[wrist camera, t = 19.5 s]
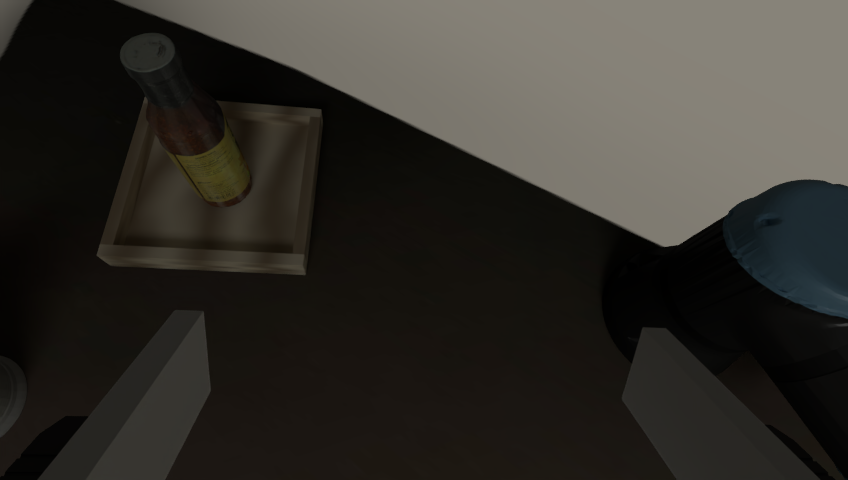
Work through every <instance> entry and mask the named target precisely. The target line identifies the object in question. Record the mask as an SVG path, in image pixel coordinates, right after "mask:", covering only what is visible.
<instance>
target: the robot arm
mask: <svg viewBox="0 0 848 480" xmlns="http://www.w3.org/2000/svg"><path fill="white" fill-rule="evenodd" d="M603 312H604V318H605V322H606V325H607V328H608V331H609V333H610V335H611V337H612V339H613V341H614V342H615V344H616V346H617V347H618V348H619V350H620V351H621V352H622V354H623V355H624V356H625V357H626V358H627V359H628V360H629V361H630V362H631V363H632V365H631V369H630V372H629V376H628V379H627V382H626V386H625V389H624V392H623V396H622V400H623V402H624V403H625V405H626V406H627V407H628V409H629V410H630V412H631V413H632V415H633V416H634V418H635V419H636V421H637V422H638V424H639V425H640V426H641V428H642V429H643V431H644V432H645V434H646V435H647V437H648V438H649V440H650V441H651V443H652V444H653V445H654V447H655V448H656V450H657V451H658V453H659V454H660V456H661V457H662V459H663V460H664V462H665V463H666V464H667V466H668V467H669V469H670V470H671V472H672V473H673V475H674V476H675V478H676V479H677V480H835V479H834V478H833V477H832V476H828V472H827V471H826V470H825V469H824V468H822V467H821V466H820V465H819V464H818V463H817V462H814V461H813V460H812V457H811V456H810V455H809V454H808V453H807V452H806V451H805V450H803V449H802V448H801V447H800V446H799V445H798V444H797V443H796V442H795V441H794V440H793V439H791V438H789V437H788V436H786V435H785V434H783V433H782V432H780V431H779V430H777V429H776V428H774V427H773V426H771V425H764V424H763V423H762V422H761V421H760V420H759V419H758V418H757V417H756V416H755V415H754V414H753V413H752V412H751V411H750V410H749V409H748V408H747V407H746V406H745V405H744V404H743V403H742V402H741V401H740V400H739V399H738V398H737V397H736V396H735V395H734V394H733V393H732V392H731V391H729V390H728V389H727V388H726V387H725V386H724V385H723V384H722V383H721V382H720V381H719V380H718V379H717V378H716V377H715V376H716V375H718V374H720V373H721V372H723V371H724V370H725V369H727V368H728V367H729V366H730V365H731V364H732V363H733V362H734V361H736V360H737V359H738V358H739V357H740V356H741V355H742V354H743V353H744V352H745V351H750V352H751V354H752V355H753V356H754V357H755V359H756V360H757V361H758V363H759V364H760V365H761V366H762V368H763V369H764V370H765V372H766V373H767V374H768V375H769V377H770V378H771V379H772V381H773V382H774V383H775V385H776V386H777V387H778V389H779V390H780V391H781V393H782V394H783V395H784V397H785V398H786V399H787V401H788V402H789V403H790V405H791V406H792V407H793V409H794V410H795V411H796V413H797V414H798V416H799V417H800V418H801V420H802V421H803V422H804V424H805V425H806V426H807V428H808V429H809V430H810V432H811V433H812V434H813V436H814V437H815V438H816V440H817V441H818V442H819V444H820V445H821V446H822V448H823V449H824V450H825V452H826V453H827V454H828V456H829V457H830V458H831V460H832V461H833V462H834V464H835V466H836V468H837V469H838V471H839V473H840V474H842V475H843V477H844V478H845V480H848V186H844V185H841V184H831V183H828V182H825V181H820V180H796V181H790V182H786V183H783V184H779V185H777V186H774V187H772V188H770V189H768V190H767V191H765V192H763V193H761V194H759V195H758V196H756V197H754V198H750V199H747V200H745V201H743V202H741V203H739V204H737V205H736V206H735V207H734V208H732V209H731V210H730V211H729V213H728V215H726V216H725V217H723V218H721V219H720V220H718V221H716V222H715V223H713V224H712V225H710V226H708V227H707V228H705V229H704V230H702V231H700V232H699V233H697V234H696V235H694V236H692V237H691V238H689V239H688V240H686V241H685V242H683V243H681V244H680V245H676V246H669V247H662V248H654V249H649V250H645V251H642V252H640V253H637V254H635V255H633V256H632V257H630V258H629V259H627V260H626V261H624V262H623V263H622V264H620V265H619V266H618V267H617V268H616V269H615V270H614V271H613V273H612V274H611V275H610V277H609V279H608V281H607V283H606V286H605V290H604V295H603ZM210 391H211V389H210V378H209V367H208V355H207V344H206V333H205V322H204V311H187V310H175V311H174V312H173V313H172V314H171V316H170V317H169V318H168V319H167V321H166V322H165V323H164V324H163V326H162V327H161V328H160V329H159V330H158V332H157V333H156V334H155V335H154V337H153V338H152V339H151V340H150V342H149V343H148V344H147V345H146V347H145V348H144V349H143V350H142V351H141V353H140V354H139V355H138V356H137V358H136V359H135V360H134V361H133V363H132V364H131V365H130V366H129V367H128V369H127V370H126V371H125V372H124V374H123V375H122V376H121V377H120V379H119V380H118V381H117V382H116V383H115V385H114V386H113V387H112V388H111V390H110V391H109V392H108V393H107V395H106V396H105V397H104V398H103V400H102V401H101V402H100V403H99V404H98V406H97V407H96V408H95V409H94V411H93V412H92V413H91V414H90V416H89V417H87V416H65V417H64V418H62V419H61V420H59V421H58V422H56V423H55V424H53V425H52V426H51V427H49V428H48V429H46V430H45V431H43V432H42V433H40V434H39V435H38V436H37V437H36V438H35V440H34V441H33V442H32V443H31V444H30V445H29V446H28V447H27V448H26V450H25V451H24V452H23V453H22V454H21V457H20V459H16V461H15V462H14V463H13V464H12V465H11V466H10V467H9V468H8V469H7V471H6V472H5V475H4V476H1V477H0V480H165V479H166V477H167V475H168V473H169V471H170V469H171V467H172V465H173V463H174V461H175V459H176V457H177V455H178V453H179V451H180V449H181V448H182V446H183V444H184V442H185V440H186V438H187V436H188V434H189V432H190V430H191V428H192V426H193V424H194V422H195V420H196V418H197V416H198V414H199V412H200V410H201V409H202V407H203V405H204V403H205V401H206V399H207V397H208V395H209V393H210Z"/></svg>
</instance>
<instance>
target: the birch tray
mask: <svg viewBox="0 0 848 480" xmlns="http://www.w3.org/2000/svg"><path fill="white" fill-rule="evenodd" d="M217 103H218V104H219V105H220V107H221V109H222V111H223V113H224V115H225V117H226V119H227V122H228V124H229V126H230V128H231V130H232V132H233V135H234V137H235V139H236V141H237V143H238V145H239V148H240V150H241V152H242V154H243V156H244V158H245V160H246V163H247V165H248V167H249V169H250V174H251V178H252V179H251V181H252V186H251V190H250V192H249V194H248V195H247V196H246V198H244V199H243V200H242V201H241V202H240V203H237V204H236V205H233V206H230V207H215V206H211V205H209V204H208V203H206V202H205V201H204V200H202V198H200V197H199V196H198V195H197V194H196V193H195V191H194V190H193V189H192V187H191V186H190V184H189V183H188V182H187V180H186V179H185V177H184V176H183V175H182V173H181V172H180V170H179V169H178V168H177V166H176V165H175V163H174V162H173V161H172V159H171V158H170V157H169V155H168V154H167V152H166V151H165V150H164V148H163V147H162V145H161V144H160V142H159V139H158V138H157V136H156V135H155V133H154V132H153V130H152V129H151V128H150V126H149V123H148V121H147V120H146V109H147V105H148V100H147V98H146V97H145V99H144V102H143V105H142V109H141V112H140V115H139V119H138V122H137V125H136V128H135V132H134V135H133V138H132V141H131V145H130V148H129V151H128V155H127V158H126V161H125V164H124V168H123V171H122V174H121V177H120V181H119V184H118V187H117V190H116V194H115V197H114V200H113V204H112V207H111V210H110V213H109V217H108V220H107V223H106V226H105V230H104V233H103V236H102V239H101V243H100V246H99V249H98V253H97V256H98V257H99V258H101V259H102V260H104V261H105V262H106V263H108V264H109V265H111V266H123V267H145V268H167V269H189V270H210V271H232V272H254V273H276V274H298V275H306V271H307V263H308V254H309V245H310V236H311V227H312V219H313V210H314V201H315V192H316V183H317V175H318V166H319V157H320V148H321V139H322V131H323V119H322V111H321V109H313V108H301V107H288V106H276V105H264V104H252V103H239V102H227V101H217Z"/></svg>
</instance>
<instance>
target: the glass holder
mask: <svg viewBox="0 0 848 480" xmlns="http://www.w3.org/2000/svg"><path fill="white" fill-rule="evenodd" d="M26 396H27V381H26V377H25V375H24V373H23V371H22V369H21V368H20V367H19V366H18V364H17V363H15V362H14V361H12V360H11V359H9V358H6V357H4V356H0V437H2V436H3V435H4V434H5V433H6V432H7V431H8V430H9V429H10V428H11V427H12V426H13V424H14V423H15V421H16V420H17V419H18V417H19V415H20V413H21V411H22V410H23V407H24V404H25V401H26Z"/></svg>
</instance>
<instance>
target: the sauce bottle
mask: <svg viewBox="0 0 848 480" xmlns="http://www.w3.org/2000/svg"><path fill="white" fill-rule="evenodd" d="M120 60H121V62H122V64H123V66H124V68H125V69H126V71H127V72H128V74H129V75H130V76H131V77H132V78H133V79H134V80H135V81H137V83H138V84H139V86H140V87H141V89H142V90H143V92H144V94H145V97H146V98H147V100H148V105H147V109H146V120H147V121H148V123H149V126H150V128H151V129H152V130H153V132H154V133H155V135H156V136H157V138H158V139H159V142H160V144H161V145H162V147H163V148H164V150H165V151H166V152H167V154H168V155H169V157H170V158H171V159H172V161H173V162H174V163H175V165H176V166H177V168H178V169H179V170H180V172H181V173H182V175H183V176H184V177H185V179H186V180H187V182H188V183H189V184H190V186H191V187H192V189H193V190H194V191H195V193H196V194H197V195H198V196H199V197H200V198H202V200H204V201H205V202H206V203H208V204H209V205H211V206H215V207H230V206H233V205H236V204H237V203H240V202H241V201H242V200H243V199H244V198H246V196H247V195H248V194H249V192H250V190H251V186H252V181H251V179H252V178H251V174H250V169H249V167H248V165H247V163H246V160H245V158H244V156H243V154H242V152H241V150H240V148H239V145H238V143H237V141H236V139H235V137H234V135H233V132H232V130H231V128H230V126H229V124H228V122H227V119H226V117H225V115H224V113H223V111H222V109H221V107H220V105H219V104H218V103H217V101H216V100H215V99H214V98H213V97H211V96H210V95H209V94H208V93H207V92H206V91H204V90H203V89H202V88H201V87H200V86H199V85H198V84H196V83H195V82H194V81H193V80H192V79H191V78H190V76H189V75H188V74H187V71H186V70H185V67H184V66H183V64H182V57H181V54H180V52H179V51H178V49H177V47H176V45H175V44H174V43H173V42H172V41H171V39H169V38H168V37H166V36H165V35H162V34H158V33H146V34H141V35H138V36H135V37H133V38H131V39H129V40H128V41H127V42H126V43H125V44H124V45H123V47H122V48H121V51H120Z"/></svg>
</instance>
